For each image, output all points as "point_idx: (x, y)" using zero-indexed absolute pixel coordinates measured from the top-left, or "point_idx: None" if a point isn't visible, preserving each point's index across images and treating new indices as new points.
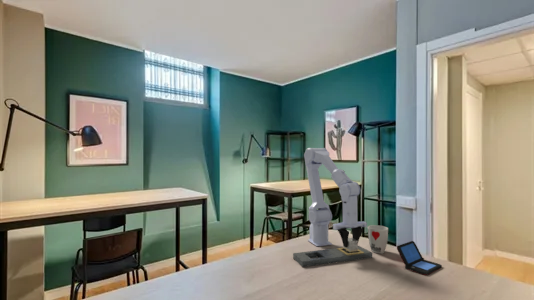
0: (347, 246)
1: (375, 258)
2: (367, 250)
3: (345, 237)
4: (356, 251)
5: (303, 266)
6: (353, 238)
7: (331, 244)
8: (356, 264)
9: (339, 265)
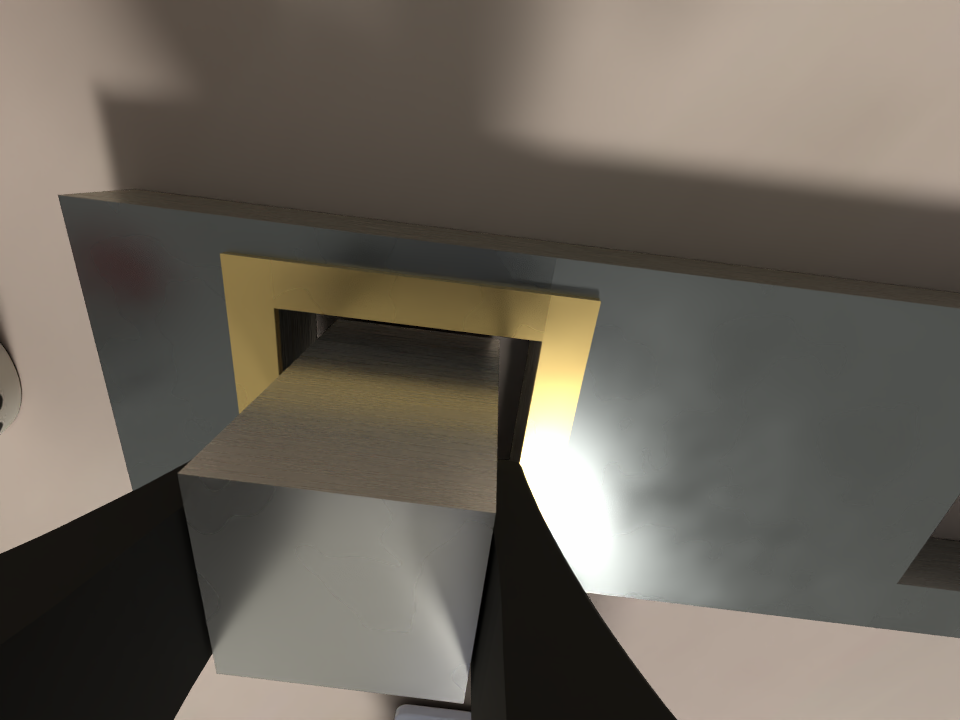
0: None
1: (95, 142)
2: (100, 327)
3: (633, 676)
4: (340, 347)
5: None
6: (208, 626)
7: (411, 707)
8: (582, 52)
9: (872, 152)
